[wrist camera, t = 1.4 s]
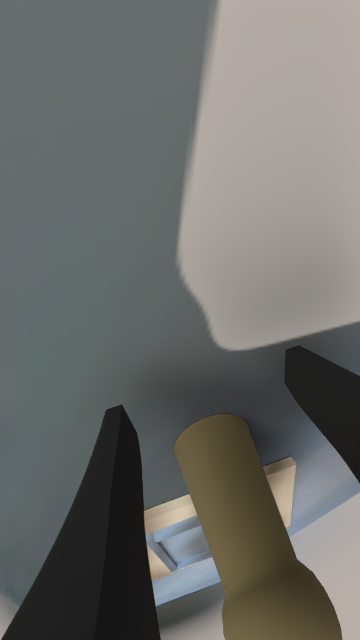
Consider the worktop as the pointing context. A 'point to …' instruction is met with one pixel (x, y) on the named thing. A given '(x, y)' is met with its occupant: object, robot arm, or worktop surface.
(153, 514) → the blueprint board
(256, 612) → the cork
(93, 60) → the worktop surface
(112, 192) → the worktop surface
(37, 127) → the worktop surface
